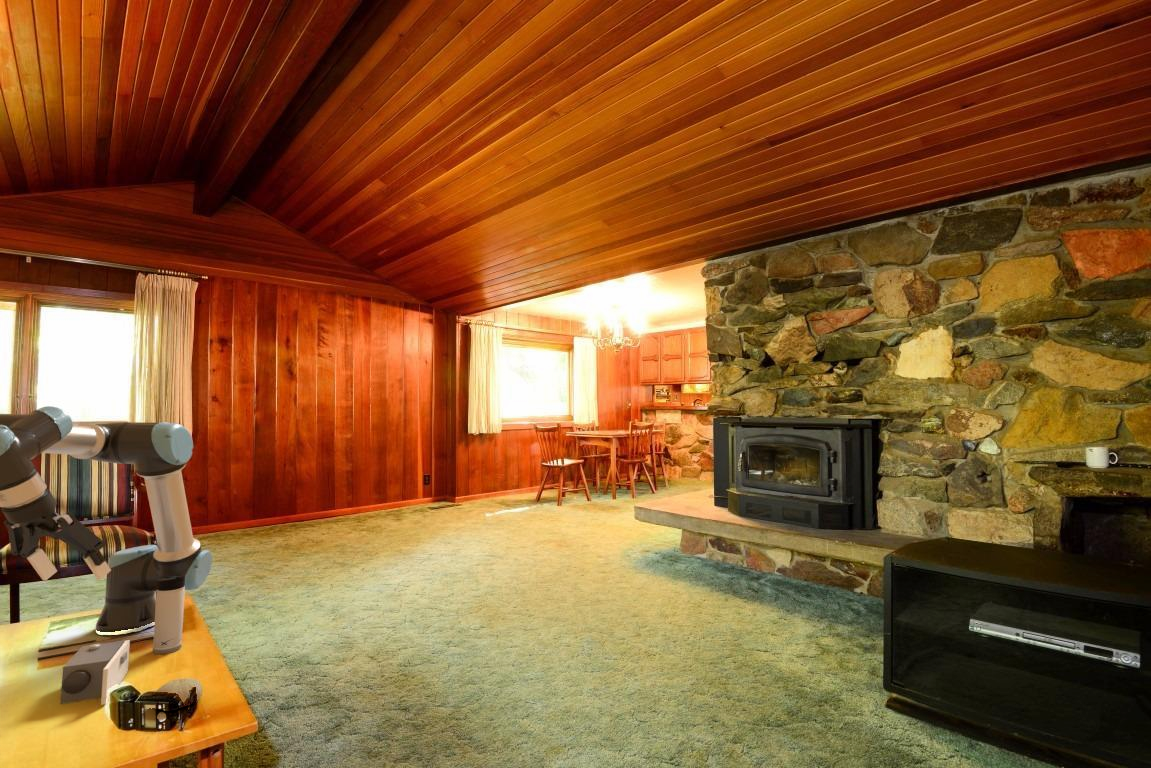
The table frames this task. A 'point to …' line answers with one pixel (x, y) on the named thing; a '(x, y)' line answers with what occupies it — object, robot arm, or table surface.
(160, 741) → the table surface
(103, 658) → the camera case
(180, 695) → the sea urchin shell
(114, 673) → the side door
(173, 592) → the travel mug
